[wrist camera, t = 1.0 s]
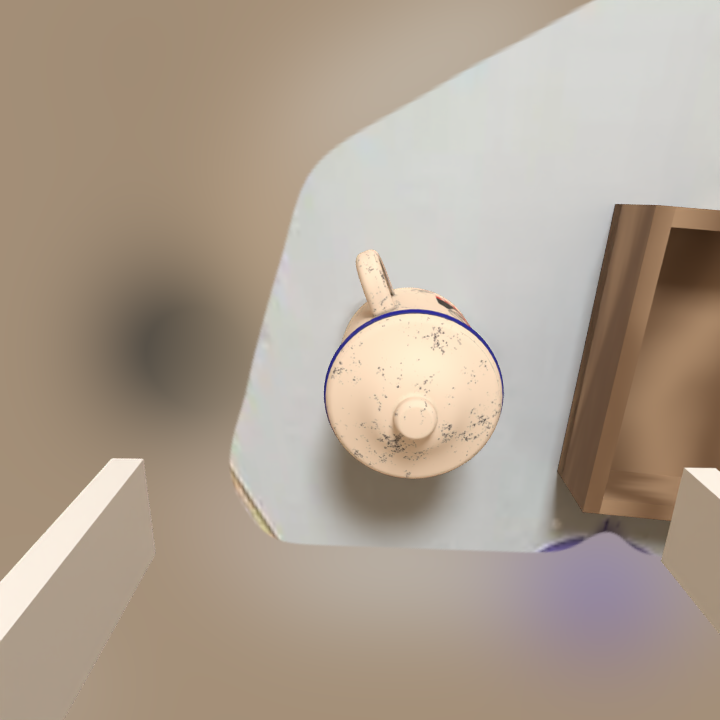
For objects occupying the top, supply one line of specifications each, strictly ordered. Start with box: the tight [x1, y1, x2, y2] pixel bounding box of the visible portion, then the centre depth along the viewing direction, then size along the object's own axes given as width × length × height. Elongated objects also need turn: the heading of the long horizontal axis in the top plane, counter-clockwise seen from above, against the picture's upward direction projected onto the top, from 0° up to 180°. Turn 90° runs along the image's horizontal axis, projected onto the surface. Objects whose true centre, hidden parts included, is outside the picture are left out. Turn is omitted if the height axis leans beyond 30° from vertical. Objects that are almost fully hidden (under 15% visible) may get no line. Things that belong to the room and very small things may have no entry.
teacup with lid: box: [324, 250, 504, 479], centre depth 29 cm, size 12×9×12 cm
